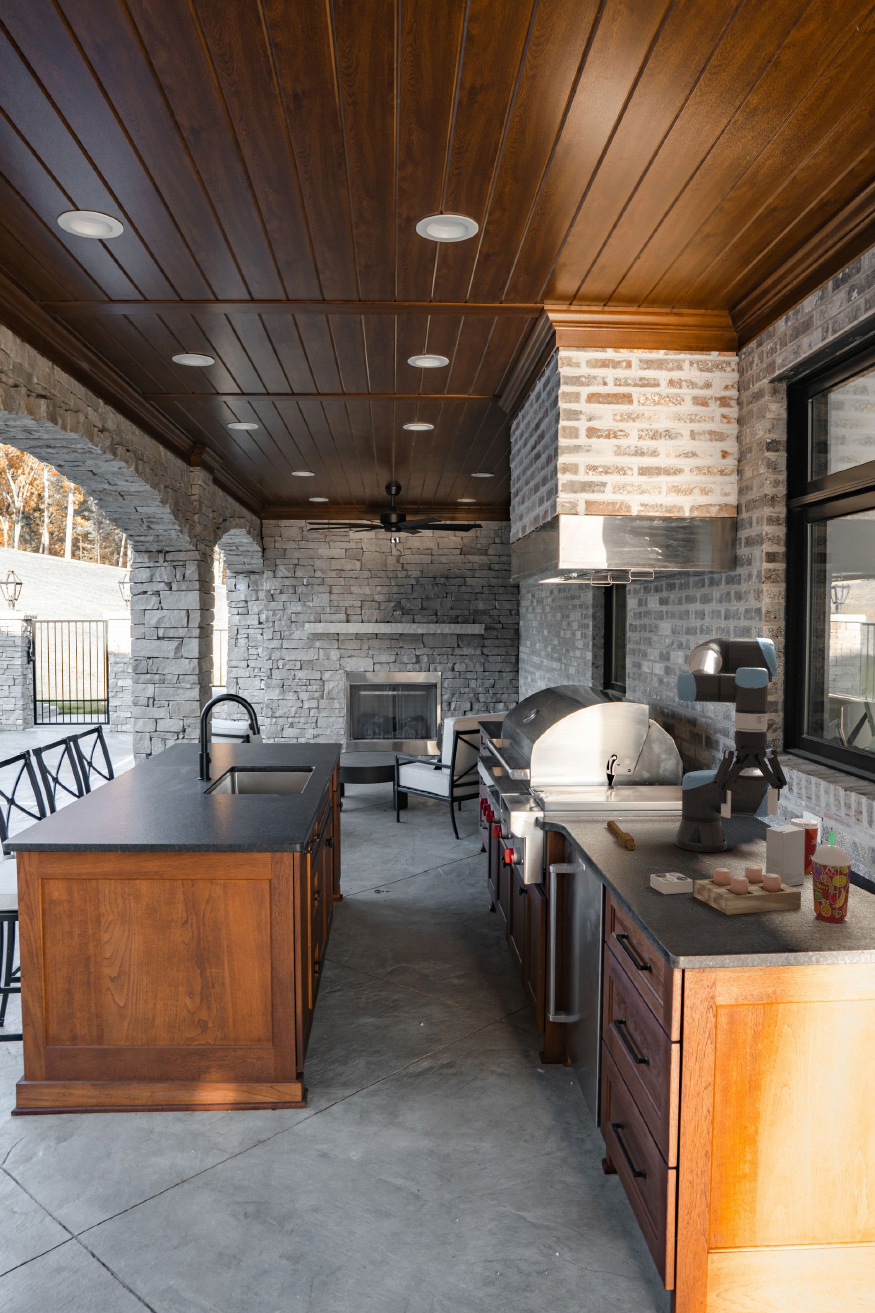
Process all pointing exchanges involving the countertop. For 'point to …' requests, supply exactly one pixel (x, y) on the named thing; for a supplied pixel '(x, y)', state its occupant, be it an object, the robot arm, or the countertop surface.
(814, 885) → the smoothie
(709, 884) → the board
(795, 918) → the countertop surface
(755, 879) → the button
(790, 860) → the skincare box
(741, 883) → the button
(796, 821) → the paper cup
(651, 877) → the white flat block
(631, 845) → the tap handle
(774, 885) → the button
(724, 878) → the button
